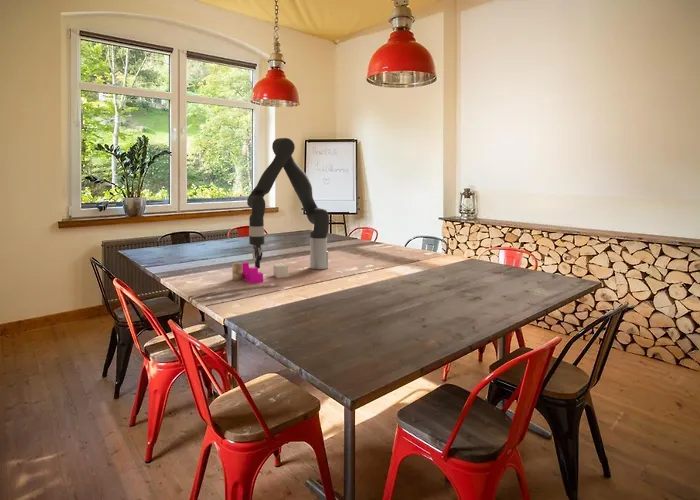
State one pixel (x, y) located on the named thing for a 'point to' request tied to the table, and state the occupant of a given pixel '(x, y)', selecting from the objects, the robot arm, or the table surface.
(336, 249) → the table surface
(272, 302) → the table surface
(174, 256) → the table surface
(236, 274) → the birch cylinder
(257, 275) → the toy block
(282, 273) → the beige cube
